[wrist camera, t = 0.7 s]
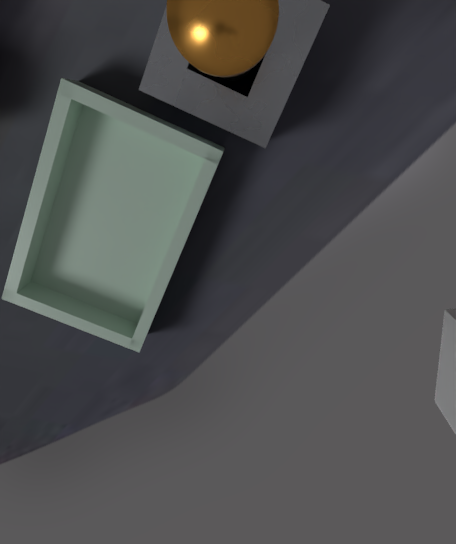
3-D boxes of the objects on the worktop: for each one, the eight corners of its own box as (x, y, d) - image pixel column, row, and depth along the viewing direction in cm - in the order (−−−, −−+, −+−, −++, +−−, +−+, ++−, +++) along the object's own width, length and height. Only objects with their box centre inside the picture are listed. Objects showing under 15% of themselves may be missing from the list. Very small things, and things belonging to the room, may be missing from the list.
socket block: (153, 92, 33) (138, 89, 28) (199, -39, 30) (190, -66, 25) (262, 143, 34) (265, 148, 29) (317, 21, 31) (330, 5, 26)
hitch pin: (193, 75, 32) (150, 46, 17) (216, 12, 31) (191, -77, 16) (247, 101, 33) (250, 93, 18) (273, 40, 31) (298, -22, 16)
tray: (20, 284, 38) (1, 298, 36) (78, 81, 32) (61, 77, 29) (147, 334, 40) (139, 352, 37) (225, 148, 34) (223, 151, 31)
